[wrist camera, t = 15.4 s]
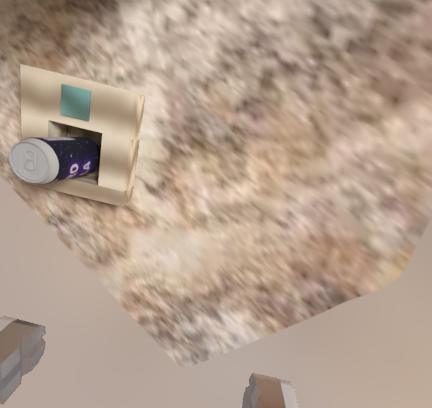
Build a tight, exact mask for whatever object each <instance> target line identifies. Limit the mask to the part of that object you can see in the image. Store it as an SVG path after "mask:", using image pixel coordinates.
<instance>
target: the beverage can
mask: <svg viewBox="0 0 432 408" xmlns="http://www.w3.org/2000/svg"><path fill="white" fill-rule="evenodd" d="M100 155H101V149H100V147H99V145H98V144H97V143H96V142H95V141H93V140H92V139H89V138H86V137H31V138H26V139H24V140H23V141H21V142H18V143H16V144H14V145H13V146H12V148H11V149H10V152H9V162H10V165H11V168H12V169H13V171H14V172H15V174H16V175H17V176H18V177H20V178H21V179H22V180H24V181H26V182H29V183H38V184H49V183H52V182H56V181H60V180H64V179H68V178H72V177H75V176H79V175H83V174H87V173H91V172H94V171H96V170H98V169H99V167H100Z"/></svg>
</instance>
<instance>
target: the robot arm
mask: <svg viewBox="0 0 432 408" xmlns="http://www.w3.org/2000/svg"><path fill="white" fill-rule="evenodd" d="M45 333H46V332H45V326H41V325H38V324H34V323H30V322H26V321H22V320H19V319H14V318H10V317H6V316H4V317H1V318H0V404H4V403H5V402H6V400H7V399H8V398H9V397H10V396H11V394H12V393H13V392H14V391H15V390H16V389H17V387H18V386H19V385H20V384H21V379H22V376H23V375H25V374H27V373H28V372H30V371H32V370H33V368H34V367H35V366H36V365H37V363H38V362H39V360H40V359H41V357H42V355H43V353H44V350H45V341H44V340H43V338H42V336H43V335H44V334H45ZM249 384H250V386H248V387H246V389H245V392H244V397H243V406H242V408H299V407H298V403H297V399H296V395H295V391H294V388H293V385H292V383H291V382H290V381H285V380H281V379H277V378H273V377H269V376H264V375H259V374H254V373H253V374H251V376H250V379H249Z"/></svg>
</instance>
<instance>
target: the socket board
mask: <svg viewBox="0 0 432 408" xmlns="http://www.w3.org/2000/svg"><path fill="white" fill-rule="evenodd" d="M20 83H21V135H22V141H23V140H24V139H26V138H31V137H67V125H71V126H75V127H79V128H83V129H87V130H91V131H95V132H99V133H102V143H101V155H100V167H99V178H97V177H93V176H89V175H84V174H83V175H79V176H75V177H72V178H68V179H64V180H60V181H56V182H52V183H49V184H38V183H29V182H26V181H24V180H22V183H25V184H29V185H33V186H38V187H42V188H46V189H50V190H54V191H59V192H63V193H67V194H71V195H75V196H79V197H84V198H88V199H92V200H96V201H100V202H105V203H109V204H113V205H117V206H123V205H125V204H126V203H128V202H129V201H131V200H132V194H133V186H134V178H135V170H136V163H137V155H138V147H139V140H140V132H141V124H142V116H143V109H144V101H145V97H144V96H142V95H140V94H138V93H136V92H133V91H129V90H125V89H121V88H117V87H113V86H109V85H105V84H101V83H97V82H93V81H88V80H84V79H80V78H76V77H72V76H68V75H64V74H60V73H56V72H52V71H48V70H44V69H40V68H36V67H32V66H28V65H24V64H20Z"/></svg>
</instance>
